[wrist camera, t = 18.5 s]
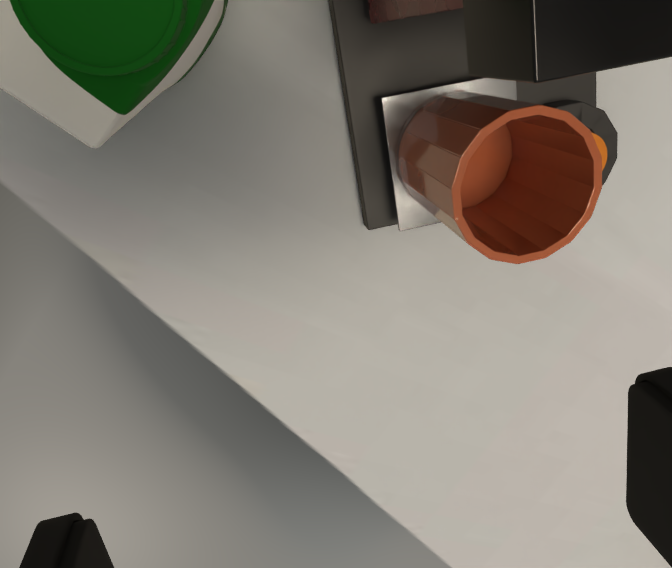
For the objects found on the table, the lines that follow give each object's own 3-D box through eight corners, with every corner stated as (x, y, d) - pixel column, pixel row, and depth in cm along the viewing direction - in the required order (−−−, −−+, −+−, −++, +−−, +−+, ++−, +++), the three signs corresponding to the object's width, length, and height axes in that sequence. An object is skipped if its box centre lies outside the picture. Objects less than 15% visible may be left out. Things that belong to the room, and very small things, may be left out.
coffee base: (365, 231, 39) (375, 246, 36) (319, -60, 32) (327, -70, 30) (590, 183, 40) (617, 193, 37) (588, -106, 34) (619, -120, 31)
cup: (406, 223, 35) (460, 277, 27) (390, 104, 33) (444, 123, 25) (516, 200, 36) (602, 245, 28) (510, 81, 33) (602, 91, 25)
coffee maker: (593, 188, 37) (910, 310, 20) (395, 231, 36) (547, 399, 19) (591, -115, 31) (1047, -321, 14) (353, -74, 30) (521, -243, 12)
